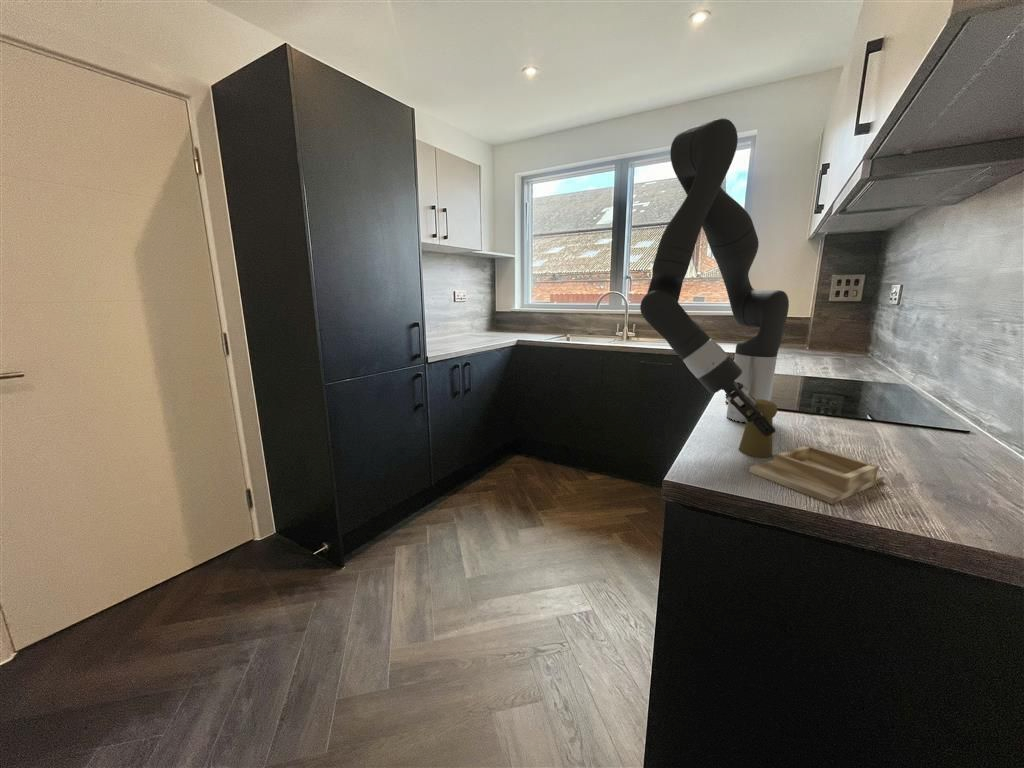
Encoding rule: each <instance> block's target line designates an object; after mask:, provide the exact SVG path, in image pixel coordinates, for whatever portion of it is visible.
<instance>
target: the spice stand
mask: <svg viewBox="0 0 1024 768" xmlns="http://www.w3.org/2000/svg"><path fill="white" fill-rule="evenodd" d="M878 470H879V465H876V464H872V463H869V462H867V461H863V460H859V459H857V458H853V457H849V456H846V455H842V454H838V453H835V452H832V451H828V450H824V449H822V448H818V447H815V446H811V445H808V444H805V445H804V446H803V445H802V446H799V447H796V448H793V449H789V450H786V451H781V452H779V453H776V454H774V457H773V459H771V460H768V461H764V462H762V463H757V464H754V465H751V466H749V470H748V471H749V473H751V474H754V475H756V476H759V477H761V478H765V479H767V480H769V481H771V482H775V483H777V484H780V485H782V486H784V487H787V488H790V489H792V490H795V491H797V492H799V493H802V494H805V495H808V496H810V497H812V498H814V499H818V500H820V501H822V500H823V501H822V502H825V503H829V504H831V505H833V504H835V503H838V502H839V501H842V500H844V499H847V498H848V497H849V498H850V497H851V496H853V495H855V494H858V493H860V492H863V491H864V490H867V489H869V488H871V487H873V486H875V485H878V484H880V483H882V482H884V479H885V475H883V474H879V473H878Z"/></svg>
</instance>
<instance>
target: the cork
mask: <svg viewBox="0 0 1024 768" xmlns="http://www.w3.org/2000/svg"><path fill="white" fill-rule="evenodd" d="M754 401H755V402H756V404H757V405H756V408H757V409H758V410H759V411H760V412H762V415H763V416H764V417H765V418H766V420H767V421H768V422H769V423H770V424H771V425H772V426H773V422H774V421H773V420H774V419H773V418H775V416H776V415H777V413H778V406H777V404H776V403H775V402H773V401H772V400H771V401H768V400H763V399H754ZM747 412H748V413H749V415H751V414H752V413H754V411H753V410H752V409H750V410H749V411H747ZM738 451H740V452H741V453H743V454H745V455H748V456H751V457H757V458H771V457H772V456H773V434H771V435H769V436H764V435H763V433H762V432H761V431H760V430H759V429H758V428H757V427H756V426H755V425H754V423H753V422H752V423H751V422H749V421H747V423H745V427H744V430H743V434H742V437H741V440H740V444H739V447H738Z"/></svg>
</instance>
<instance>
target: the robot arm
mask: <svg viewBox="0 0 1024 768" xmlns="http://www.w3.org/2000/svg"><path fill="white" fill-rule="evenodd" d="M737 148H738V131H737V128H736V126H735V124H734V123H733V121H731V120H730V119H727V118H716V119H712V120H710V121H706V122H703V123H700V124H697V125H694V126H690V127H689V128H686V129H684V130H682V131H680V132H679V133H678V134H676V136H675V137H674V138H673V141H672V142H671V146H670V152H669V153H670V155H669V156H670V162H671V166H672V169H673V172H674V174H675V176H676V178H677V180H678V181H679V183H680V185H681V187H682V189H683V190H684V192H685V194H686V197H685V199H684V200H683V202H682V204H681V205H680V207H679V208H678V209H677V212H675V214H674V216H673V217H672V218H671V219H670V221H669V222H668V224H667V226H666V228H665V229H664V231H663V233H662V235H661V238H660V241H659V243H658V247H657V249H656V254H655V257H654V261H653V265H652V269H651V270H652V272H651V275H652V276H651V280H650V283H649V286H648V290H647V293H646V294H645V295H644V296H643V298H642V300H641V302H640V305H639V306H640V307H639V309H640V313H641V316H642V318H643V319H644V320H645V322H647V323H648V324H649V325H650V326H651V327H652V328H653V329H654V331H656V332H657V333H658V334H659V335H660V336H661V337H662V338H663V339H664V340H665V341H666V342H667V343H668V345H669V347H670V348H671V349H672V350H673V351H674V352H675V354H676V355H678V357H679V358H680V359H681V360H682V361H683V363H684V364H685V365H686V367H687V368H688V370H689V372H691V373H692V375H694V377H695V378H696V379H697V380H698V381H699V382H700V384H702V386H704V388H705V389H706V390H707V391H708V392H709V393H710V394H715V393H718V392H719V391H721V390H722V391H724V393H725V399H726V400H727V401H728V402H727V403H728V404H727V410H726V415H727V416H726V418H727V417H728V418H727V419H729V418H730V419H729V420H731V419H732V420H731V421H734V420H735V421H734V422H737V421H739V422H738V423H742V422H745V423H744V424H746V423H747V421H749V422H751V423H752V422H753V423H754V425H755V426H756V427H757V428H758V429H759V430H760V431H761V432H762V433H763V435H764V436H769V435H771V434H772V435H773V434H775V433H776V429H775V427H774V426H773V424H772V425H771V424H770V423H769V422H768V421H767V420H766V418H765V417H764V416H763V415H762V412H760V411H759V410H758V409H757V408H756V405H757V404H756V402H755V401H754V399H763V400H768V401H771V402H772V395H773V390H774V376H775V372H776V367H777V366H776V365H777V359H778V354H779V353H778V352H779V349H780V347H781V344H782V341H783V336H784V331H785V327H786V323H787V318H788V314H789V306H790V304H789V303H790V301H789V297H788V294H787V293H786V292H785V291H784V290H780V289H775V290H774V289H754V287H753V286H752V284H751V282H750V278H749V277H750V276H749V273H750V270H751V267H752V265H753V263H754V261H755V259H756V256H757V253H758V250H759V246H760V245H759V243H760V242H759V239H758V238H759V237H758V235H757V232H756V228H755V226H754V225H755V224H754V221H753V219H752V217H751V216H750V214H749V213H748V211H747V210H746V209H745V208H744V207H743V206H742V205H741V204H740V203H739V202H738V201H736V200H735V199H734V198H733V197H732V196H730V194H728V193H727V191H725V190H724V189H723V188H722V184H723V182H724V180H725V178H726V176H727V174H728V172H729V169H730V167H731V165H732V162H733V160H734V158H735V154H736V151H737ZM701 230H703V233H704V235H705V237H706V240H707V243H708V246H709V248H710V251H711V253H712V255H713V257H714V259H715V261H716V264H717V266H718V270H719V271H720V272H719V273H720V274H721V275H720V276H721V277H722V280H723V283H724V286H725V289H726V290H725V291H726V294H727V296H728V300H729V305H730V309H731V312H732V315H733V318H734V320H735V321H736V323H737V324H739V326H742V327H747V328H759V329H758V333H757V335H756V336H754V337H752V338H749V339H746V340H741V341H739V342H737V343H736V346H735V353H734V360H733V358H732V357H730V355H729V354H728V353H727V352H726V351H725V349H723V348H722V347H721V346H720V345H719V343H717V342H716V341H714V340H713V339H712V338H711V337H710V336H709V334H708V333H707V332H706V331H705V330H704V329H703V328H702V327H701V326H700V325H699V324H698V323H697V322H696V321H694V320H693V319H692V318H691V316H689V314H688V313H687V312H686V311H685V309H684V308H683V307H682V306H681V305H680V303H679V299H680V296H681V291H682V287H683V283H684V280H685V278H686V275H687V273H688V270H689V267H690V263H691V260H692V257H693V254H694V251H695V247H696V245H697V241H698V238H699V235H700V233H701ZM750 409H752V410H753V411H754V413H752V414H751V415H749V413H748V412H747V411H749V410H750Z"/></svg>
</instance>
